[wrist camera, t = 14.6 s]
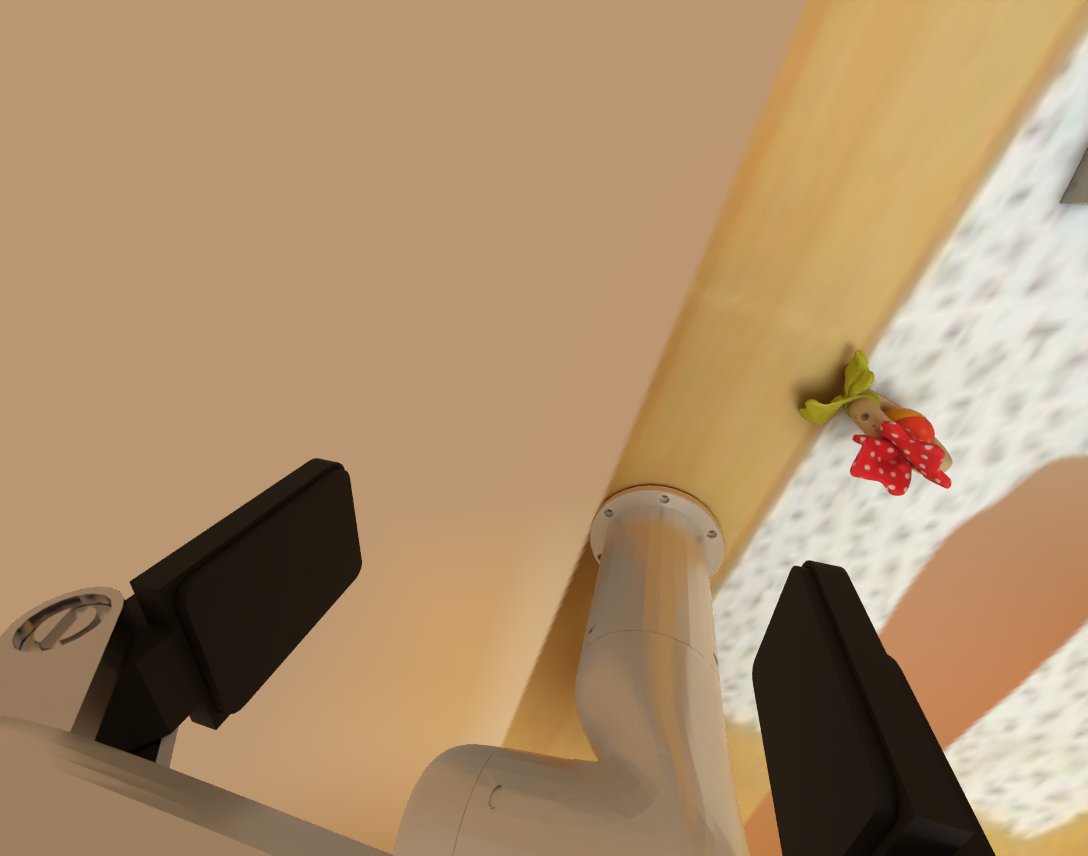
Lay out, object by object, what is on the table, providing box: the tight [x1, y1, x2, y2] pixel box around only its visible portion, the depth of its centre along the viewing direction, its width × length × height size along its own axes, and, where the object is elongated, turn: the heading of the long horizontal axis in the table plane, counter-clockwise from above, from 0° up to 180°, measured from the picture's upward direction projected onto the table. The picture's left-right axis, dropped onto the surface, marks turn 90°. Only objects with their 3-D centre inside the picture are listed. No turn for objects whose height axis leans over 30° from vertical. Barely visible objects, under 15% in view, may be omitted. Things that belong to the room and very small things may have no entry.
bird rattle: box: [799, 349, 952, 496], centre depth 31 cm, size 6×11×9 cm
